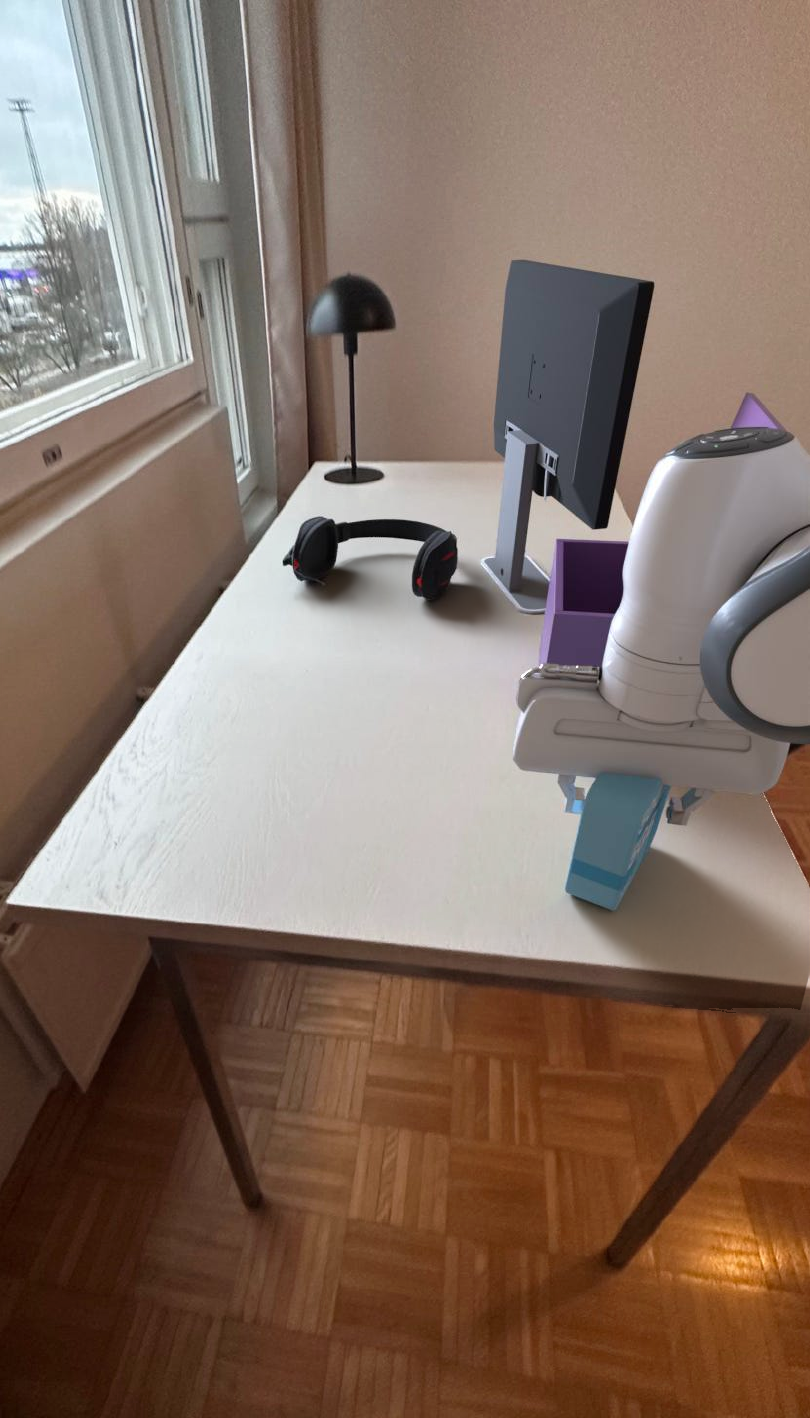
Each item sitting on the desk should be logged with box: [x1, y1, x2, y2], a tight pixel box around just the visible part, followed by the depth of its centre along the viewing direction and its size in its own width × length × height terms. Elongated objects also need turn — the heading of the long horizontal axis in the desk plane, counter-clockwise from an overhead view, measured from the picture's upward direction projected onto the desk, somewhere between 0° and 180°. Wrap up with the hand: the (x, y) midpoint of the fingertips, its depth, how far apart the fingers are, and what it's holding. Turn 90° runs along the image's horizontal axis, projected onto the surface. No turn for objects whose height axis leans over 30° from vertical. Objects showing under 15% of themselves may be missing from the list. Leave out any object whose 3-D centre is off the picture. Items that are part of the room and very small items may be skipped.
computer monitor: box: [480, 259, 655, 615], centre depth 105 cm, size 41×8×40 cm, turn 9°
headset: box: [282, 515, 459, 601], centre depth 118 cm, size 28×26×9 cm
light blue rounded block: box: [564, 773, 672, 911], centre depth 64 cm, size 12×4×12 cm, turn 146°
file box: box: [537, 538, 629, 674], centre depth 86 cm, size 15×22×15 cm
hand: (623, 814), depth 64 cm, fingers open, 7 cm apart
